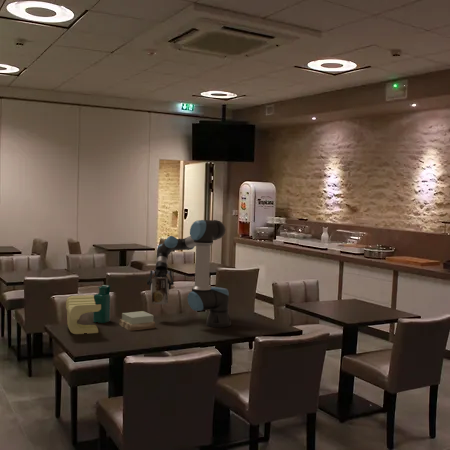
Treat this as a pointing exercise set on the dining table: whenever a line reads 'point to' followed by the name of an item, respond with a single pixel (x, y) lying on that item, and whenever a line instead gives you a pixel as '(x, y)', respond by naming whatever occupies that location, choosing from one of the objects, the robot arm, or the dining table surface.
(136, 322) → the white flat square block
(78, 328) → the slatted curved stool
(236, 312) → the dining table surface
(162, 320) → the dining table surface
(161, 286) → the coffee box
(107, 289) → the green bottle
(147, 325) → the tower base
